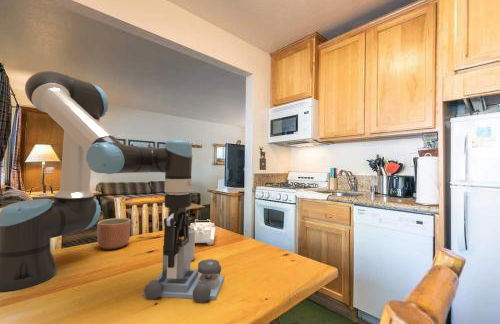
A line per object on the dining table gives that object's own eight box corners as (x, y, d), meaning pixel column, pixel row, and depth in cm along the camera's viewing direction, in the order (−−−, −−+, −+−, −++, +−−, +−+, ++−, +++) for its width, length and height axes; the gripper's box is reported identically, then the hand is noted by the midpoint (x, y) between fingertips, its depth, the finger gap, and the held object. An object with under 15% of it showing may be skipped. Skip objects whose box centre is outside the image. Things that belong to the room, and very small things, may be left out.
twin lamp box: (162, 278, 67) (163, 239, 67) (171, 268, 73) (171, 233, 73) (183, 279, 66) (183, 240, 66) (190, 269, 72) (190, 234, 72)
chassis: (139, 298, 62) (139, 282, 62) (164, 273, 77) (164, 259, 78) (214, 303, 61) (214, 286, 61) (225, 276, 76) (225, 262, 76)
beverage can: (185, 264, 84) (186, 230, 84) (172, 261, 87) (173, 228, 88) (198, 258, 90) (198, 226, 90) (185, 255, 93) (186, 224, 93)
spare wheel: (195, 281, 66) (195, 267, 66) (201, 271, 72) (201, 258, 72) (216, 282, 65) (216, 268, 65) (220, 272, 71) (221, 259, 71)
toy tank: (215, 235, 120) (215, 216, 120) (213, 249, 100) (213, 226, 100) (191, 236, 119) (191, 216, 119) (184, 250, 99) (185, 226, 99)
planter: (91, 253, 94) (92, 225, 94) (102, 243, 106) (103, 218, 106) (125, 251, 97) (126, 224, 97) (133, 241, 109) (133, 217, 109)
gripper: (178, 197, 60) (176, 290, 60) (200, 190, 79) (198, 260, 79) (149, 196, 61) (147, 288, 60) (178, 189, 80) (176, 259, 79)
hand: (176, 272), depth 69 cm, fingers closed on twin lamp box, 6 cm apart
